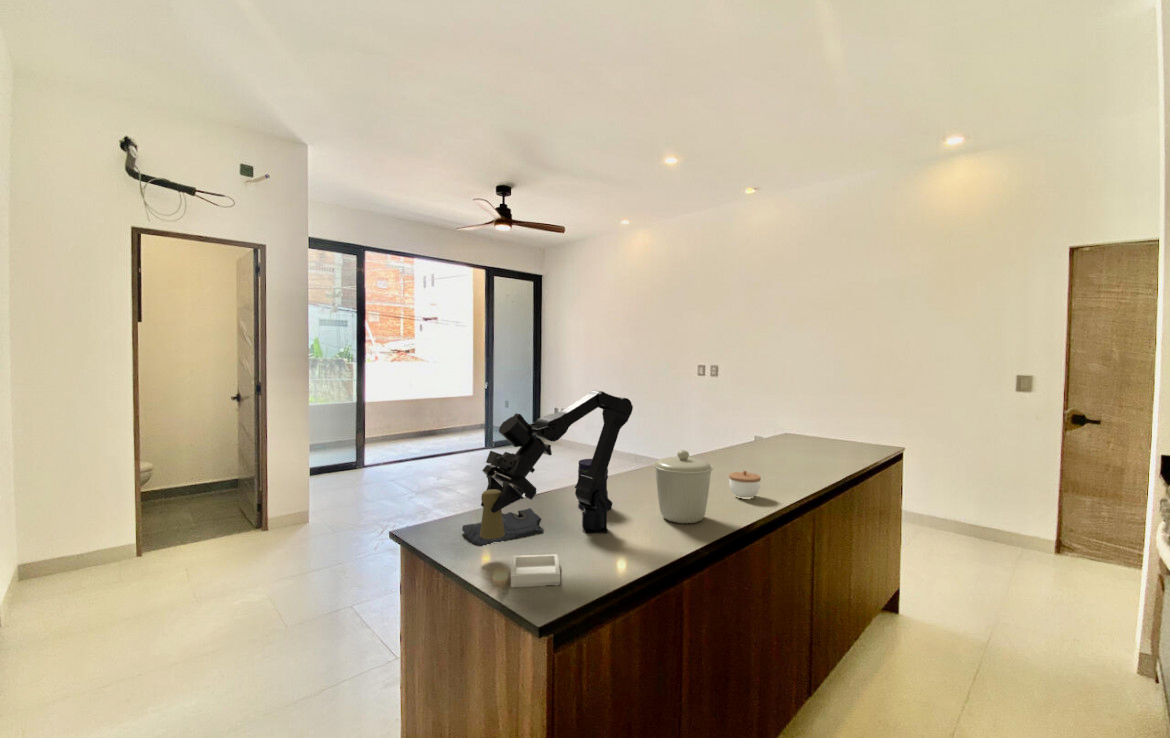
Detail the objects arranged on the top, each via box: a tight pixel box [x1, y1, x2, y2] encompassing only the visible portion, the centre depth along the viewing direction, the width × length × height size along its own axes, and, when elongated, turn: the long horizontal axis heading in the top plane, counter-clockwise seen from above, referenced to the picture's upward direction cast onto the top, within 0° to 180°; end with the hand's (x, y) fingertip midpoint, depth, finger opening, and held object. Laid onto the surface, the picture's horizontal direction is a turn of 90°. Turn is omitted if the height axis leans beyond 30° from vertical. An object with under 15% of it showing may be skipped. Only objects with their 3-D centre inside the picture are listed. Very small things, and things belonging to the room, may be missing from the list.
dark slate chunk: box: [461, 508, 545, 547], centre depth 140 cm, size 15×22×5 cm
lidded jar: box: [728, 470, 761, 498], centre depth 175 cm, size 11×11×9 cm
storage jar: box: [577, 458, 609, 511], centre depth 163 cm, size 10×10×15 cm
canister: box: [652, 449, 714, 524], centre depth 152 cm, size 18×18×21 cm
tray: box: [510, 553, 561, 588], centre depth 112 cm, size 11×11×2 cm
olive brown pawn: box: [480, 489, 505, 539], centre depth 122 cm, size 6×6×11 cm
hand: (487, 509), depth 121 cm, fingers closed on olive brown pawn, 5 cm apart
